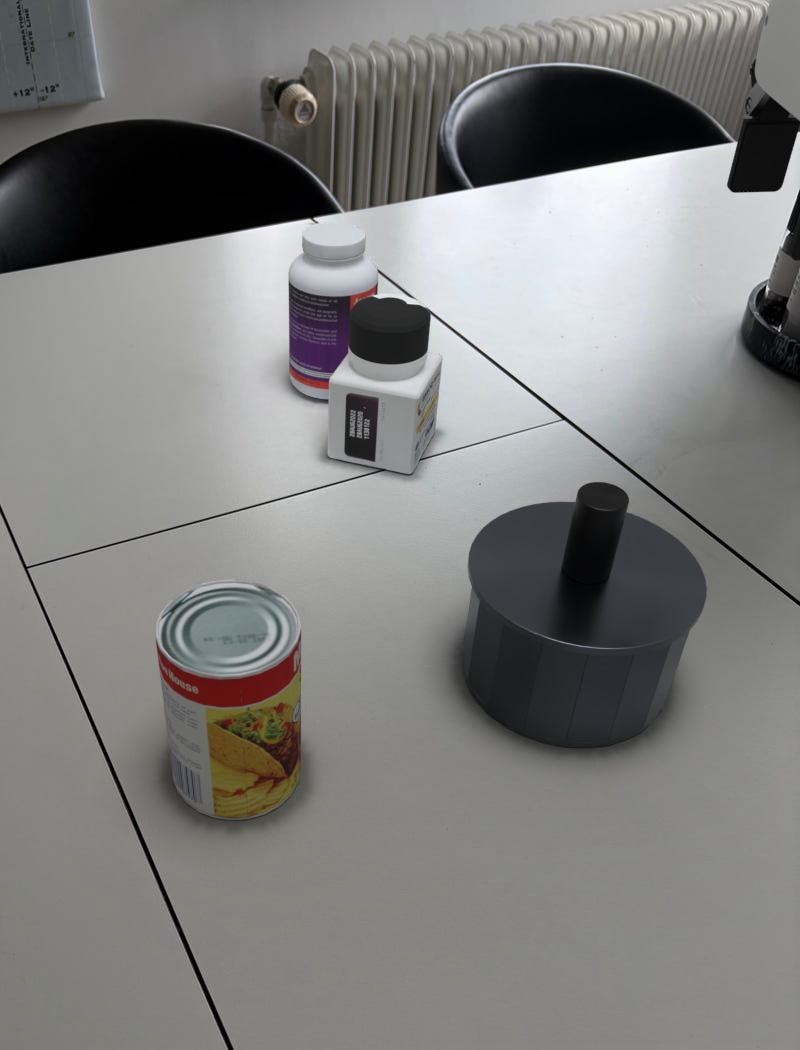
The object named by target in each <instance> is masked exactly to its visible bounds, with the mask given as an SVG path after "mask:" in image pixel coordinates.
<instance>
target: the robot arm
mask: <svg viewBox="0 0 800 1050" xmlns="http://www.w3.org/2000/svg"><path fill="white" fill-rule="evenodd" d="M755 47H756V48H755V58H754V60H753V62H752V63H751V67H750V68H749V75H750V82H751V84H750V85H751V89H750V91H749V93H747V95H746V97H745V99H744V102H743V115H744V117H745V118H743V119H742V123H741V127H740V131H739V135H738V139H737V143H736V147H735V151H734V154H733V158H732V163H731V166H730V169H729V173H728V174H729V175H728V178H727V182H726V187H727V188H728V190H729V191H730V192H731V193H733V194H739V193H740V194H742V193H743V194H744V193H775V192H776V193H777V192H778V191H780V190H781V189H782V187H783V185H784V182H785V179H786V175H787V172H788V169H789V165H790V161H791V158H792V154H793V151H794V148H795V143H796V140H797V136H798V133H799V130H800V0H769V2H768V6H767V10H766V13H765V14H764V15H763V16H762V17H760V20H759V22H758V25H757V35H756V46H755ZM787 253H788V255H789V257H790V258H791V259H792V260H794V261H800V212H799V213H798V217H797V219H796V223H795V226H794V229H793V233H792V236H791V239H790V243H789V246H788V250H787Z"/></svg>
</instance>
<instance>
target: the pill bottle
mask: <svg viewBox="0 0 800 1050" xmlns="http://www.w3.org/2000/svg"><path fill="white" fill-rule="evenodd" d="M301 235H302V236H301V240H302V241H301V248H302V253H300V254H299V255H298V256H296V257H295V258H294V259H293V260H292V262H291V264H290V266H289V269H288V371H289V379H290V382H291V383H292V385H293V386H294V388H296V390H298V391H299V392H300V393H302V394H304V395H306V396H308V397H311V398H315V399H318V400H319V399H320V400H328V401H329V379H330V377H331V376H332V375H333V373H334V372H335V370H336V369H337V368H338V366H339V365H340V364H341V362H342V361H343V360H344V358H345V357H346V356H347V354H348V347H349V317H350V310H351V308H352V307H353V306H354V305H355V304H356V303H357V302H358V301H359V300H361V299H363V298H366V297H369V296H373V295H378V290H379V269H378V267H377V265H376V263H375V261H374V260H373V259H372V258H371V257H370V256H368V255H367V254H365V253H366V239H367V238H366V237H367V236H366V235H367V234H366V232H365V230H364V229H363V228H362V227H359V226H358V225H355V224H352V223H347V222H342V221H341V222H340V221H325V222H323V221H322V222H317V223H314V224H310V225H308V226H307V227H306V228H304V230H302V234H301Z"/></svg>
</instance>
